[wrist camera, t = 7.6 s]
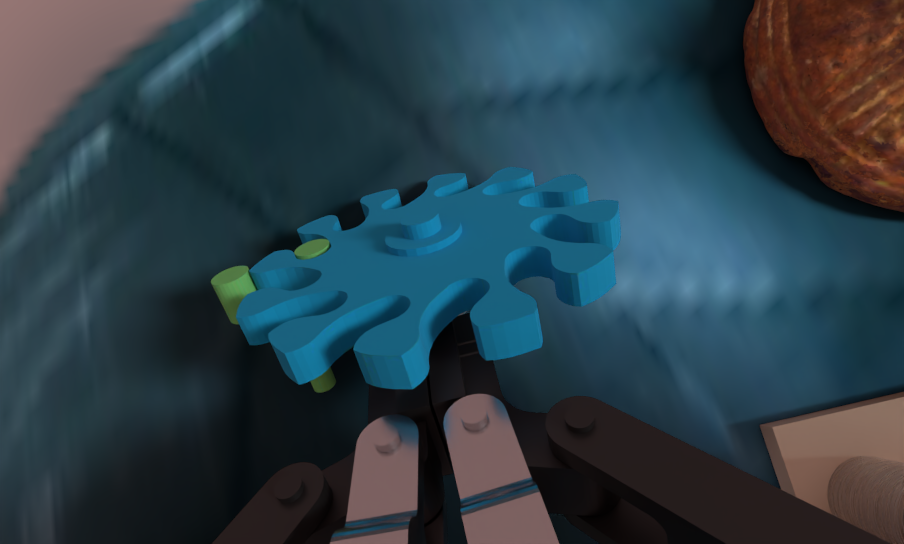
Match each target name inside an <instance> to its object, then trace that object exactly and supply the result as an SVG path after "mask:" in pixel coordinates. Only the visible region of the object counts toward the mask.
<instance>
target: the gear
mask: <svg viewBox="0 0 904 544" xmlns="http://www.w3.org/2000/svg"><path fill="white" fill-rule="evenodd" d="M427 183H428V187H427V189H426V190H425V192H424V193H423V194H422V195H420V196H419V197H418V198H416V199H415V200H413V201H412V202H410V203H409V204H407V205H405V206H403V207H402V203H401V200H400V196H399V193H398V190H397V189H390V190H385V191H381V192H377V193H374V194H370V195H367V196H364V197H363V198H361V200H360V203H361V206H362V209H363V212H364V215H365V218H366V219H365V221H364V222H363V223H362V224H361V225H359V226H357V227H355V228H352V229H349V230H345V231H342V229H341V226H340V223H339V220H338V218H337V216H334V215H328V216H325V217H322V218H320V219H317V220H315V221H312V222H310V223H308V224H306V225H304V226H302V227H300V228H298V230H297V231H298V234H299V236H300V239H301V241H302V245H301V246H299V247H298V248H297V249H296V250H295V251H294V252H293V251H291V250H280V251H275V252H273V253H271V254H270V255H268V256H266V257H265V258H263V259H262V260H261V261H259V262H258V263H257V264H256V265H255V266H253V267H252V268H251V269H250V270H249V268H248V267H247V266H236V267H232V268H229V269H226V270H224V271H222V272H220V273H219V274H217V275H216V276H215V277H213V279H212V280H211V284H212V286H213V288H214V290H215V292H216V294H217V296H218V298H219V300H220V302H221V304H222V306H223V308H224V310H225V312H226V314H227V315H228V317H229V319H230V321H231V323H232V324H239V325H240V327H241V329H242V331H243V333H244V335H245V337H246V339H247V341H248V343H249V345H261V344H265V343H268V342H270V343H271V345H272V347H273V349H274V351H275V353H276V356H277V358H278V360H279V362H280V364H281V366H282V368H283V370H284V372H285V374H286V375H287V376H288V377H289V378H290V379H291V380H293V381H294V382H296V383H297V384H298V385H300V384H303V383H307V382H309V381H310V382H311V384H312V386H313V389H314V391H315V392H318V393H322V392H326V391H328V390H330V389H331V388H332V387H334V385H335V383H336V379H335V377H334V375H333V372H332V370H331V367H330V366H331V365H332V364H333V363H334V362H335V361H336V360H337V359H338V358H339V357H340V356H341V355H343V354H344V353H345V352H346V351H348V350H349V349H351V348H352V347H353V346H354V349H353V350H354V353H355V356H356V358H357V361H358V363H359V366H360V369H361V371H362V374H363V376H364V379H365V382H366V383H368V384H370V385H373V386H376V387H381V388H388V389H414V388H415V387H417V386H418V385H419V384H420V383H421V382H422V381H423V380H424V379H425V378H426V376H427V375H428V372H429V368H430V367H429V354H430V349H431V347H432V344H433V342H434V341H435V339H436V338H437V336H438V335H439V333H440V332H441V331H442V330H443V329H444V328H445V327H446V326H447V325H448V324H449V323H450V322H451V321H452V320H453V319H454V318H456V317H457V316H459V315H463V314H465V313H466V312H467V311H469V310H471V312H470V318H471V322H472V326H473V330H474V334H475V339H476V343H477V347H478V350H479V354H480V355H481V356H482V358H484V359H485V360H486V361H487V360H499V359H505V358H510V357H514V356H517V355H521V354H524V353H527V352H530V351H533V350H535V349H538V348H541V346H542V343H543V336H542V331H541V325H540V319H539V314H538V308H537V303H536V301H535V299H534V298H533V297H531V296H530V295H528V294H526V293H524V292H521V291H519V290H518V289H517V288H515V287H514V286H513V285H514V284H516V283H517V282H518V281H520V280H522V279H525V278H529V277H535V276H542V277H547V278H550V279H552V280H553V281H554V282H555V288H556V294H557V297H558V298H559V300H561V301H562V302H564V303H566V304H568V305H572V306H580V307H582V306H584V305H587V304H589V303H591V302H593V301H595V300H597V299H598V298H600V297H601V296H603V295H604V294H605V293H607V292H608V291H609V290H610V289H611V288H612V287H613V286H614V285H615V284H616V277H615V266H614V255H613V250H614V249H615V248H616V247H617V246H618V244H619V242H620V238H621V227H620V215H619V203H618V201H614V200H599V201H593V202H589V200H588V191H587V183H586V181H585V180H584V179H583V178H581V177H580V176H578V175H576V174H569V175H564V176H560V177H557V178H554V179H552V180H550V181H548V182H546V183H544V184H541V185H539V186H536V187H535V184H534V178H533V171H531V170H528V169H524V168H517V167H508V168H504V169H501V170H499V171H497V172H496V173H494V174H493V175H492V176H491V177H490V178H489V179H488V180H487V181H485V182H483V183H482V184H480V185H478V186H476V187H473V188H471V189H468V184H467V180H466V175H465V173H453V174H443V175H436V176H434V177H432V178H431V179H430V180H429V181H428V182H427Z"/></svg>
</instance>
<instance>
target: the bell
mask: <svg viewBox="0 0 904 544" xmlns="http://www.w3.org/2000/svg"><path fill="white" fill-rule="evenodd" d="M757 6H758V7H757ZM870 7H871V8H870ZM785 24H786V25H785ZM859 24H860V25H859ZM889 26H890V27H889ZM835 38H836V39H835ZM859 40H860V41H859ZM743 49H744V54H745V58H744V64H745V72H746V79H747V82H748V85H749V88H750V90H751V94H752V99H753V101H754V104H755V107H756V109H757V111H758V113H759V115H760V117H761V119H762V120H763V122H764V125H765V128H766V130H767V131H768V133H769V134H770V136H771V137H772V139H773V140H774V142H775V143H776V144H777V146H778V147H779V148H780V149H781V150H782V151H783V152H784V153H786V154H788V155H792V156H795V157H801V158H804V159H806V160H807V161H808V162H809V163H810V165H811V166H812V168H813V169H814V171H815V170H816V171H815V172H816V174H817V175H818V177H819V178H820V180H821V181H822V182H823V183H824V184H826V185H827V186H828V187H829V188H831V189H833V190H835V191H838V192H840V193H842V194H844V195H847V196H850V197H853V198H856V199H858V200H860V201H863V202H866V203H869V204H872V205H875V206H879V207H883V208H887V209H891V210H896V211H900V212H904V0H755V2H754V7H753V10H752V12H751V13H750V15H749V17H748V19H747V22H746V25H745V29H744V38H743ZM751 56H752V57H751ZM818 56H819V57H818ZM870 58H871V59H870ZM817 66H818V67H817ZM846 72H847V73H846ZM803 78H804V79H803ZM750 79H751V80H750ZM876 82H877V83H876ZM830 93H831V94H830ZM813 96H814V97H813ZM809 97H810V98H809ZM838 107H839V108H838ZM886 114H887V115H886ZM855 120H856V121H855ZM899 122H900V123H899ZM802 124H803V125H802ZM874 124H875V125H874ZM893 125H894V126H893ZM843 128H844V129H843ZM848 141H849V142H848ZM886 141H887V142H886ZM893 144H894V145H895V146H894V145H893ZM850 146H851V147H850ZM870 146H871V147H870ZM791 149H792V150H791ZM851 149H852V150H851ZM894 149H896V150H894ZM862 150H863V151H862ZM851 152H852V153H851ZM886 154H887V155H886ZM824 158H825V159H824ZM823 160H824V161H823ZM862 162H863V163H862ZM863 166H864V167H863ZM882 178H883V179H882ZM859 186H860V187H859Z"/></svg>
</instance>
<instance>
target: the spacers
mask: <svg viewBox="0 0 904 544" xmlns="http://www.w3.org/2000/svg"><path fill="white" fill-rule="evenodd" d="M827 498H828V504H829V507H830V510H831V512H832V515H834V516H836V517H838V518H840V519H842V520H844V521H846V522H848V523H850V524H852V525H854V526H856V527H858V528H860V529H862V530H864V531H866V532H868V533H870V534H872V535H875V536H877V537H879V538H881V539H883V540H885V541H887V542H889V543H891V544H904V463H902V462H897V461H893V460H888V459H883V458H878V457H873V456H857V457H853V458H850V459H848V460H846V461H844V462H843V463H841V464H840V465H839V466H838V467H837V468H836V469H835V471H834V472H833V474H832V475H831V478H830V480H829V484H828V490H827Z"/></svg>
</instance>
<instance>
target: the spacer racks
mask: <svg viewBox="0 0 904 544" xmlns="http://www.w3.org/2000/svg"><path fill="white" fill-rule="evenodd" d="M760 428H761V431H762V434H763V437H764V440H765V443H766V446H767V449H768V452H769V455H770V458H771V461H772V464H773V467H774V470H775V473H776V476H777V479H778V481H779V484H780V487H781V490H783V491H785V492H787V493H789V494H791V495H793V496H795V497H797V498H799V499H801V500H803V501H805V502H807V503H809V504H811V505H813V506H815V507H818V508H820V509H822V510H824V511H826V512H828V513H830V514H832V512H831V510H830V507H829V504H828V498H827V490H828V484H829V480H830V478H831V475H832V474H833V472H834V471H835V469H836V468H837V467H838V466H839V465H840V464H841V463H843V462H844V461H846V460H848V459H850V458H853V457H857V456H873V457H878V458H883V459H888V460H893V461H897V462H902V463H904V392H900V393H896V394H891V395H887V396H883V397H878V398H874V399H870V400H865V401H861V402H857V403H852V404H848V405H844V406H839V407H835V408H831V409H826V410H822V411H818V412H813V413H809V414H805V415H800V416H796V417H792V418H787V419H783V420H779V421H774V422H770V423H766V424H761V425H760Z"/></svg>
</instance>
